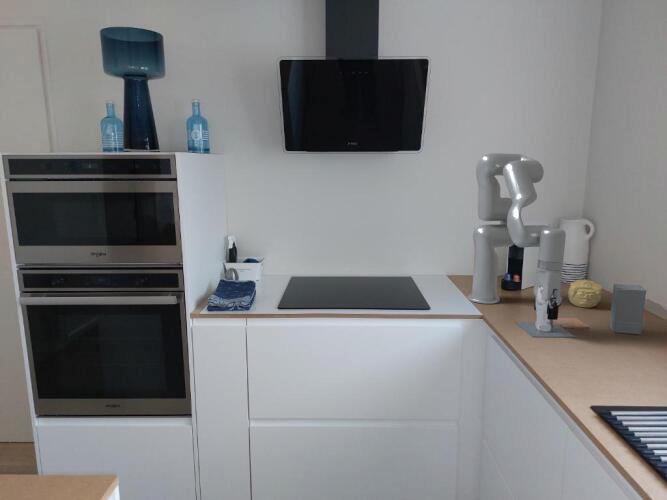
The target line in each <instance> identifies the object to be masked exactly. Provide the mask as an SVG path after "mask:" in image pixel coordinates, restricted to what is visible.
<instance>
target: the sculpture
mask: <svg viewBox="0 0 667 500" xmlns="http://www.w3.org/2000/svg"><path fill="white" fill-rule="evenodd" d="M602 289H603V286H602V285H600V284H599V283H597V282H595V281H594V280H589V279H577V280H575V281H574V282H570V283H569V288H568V292H567V293H568V294H567V295H568V299H569V301H570V303H571V304H572V305H573V306H576V307H579V308H585V309H587V308H588V309H589V308H590V309H591V308H594V307H596V306H597V305H598V304H599V302H600V301H601V297H602Z"/></svg>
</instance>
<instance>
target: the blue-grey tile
mask: <svg viewBox="0 0 667 500" xmlns="http://www.w3.org/2000/svg"><path fill="white" fill-rule="evenodd" d="M535 323H536V321H515V324H516V325H517V326H518V327H520V328H521V329H522V330H523V331H524V332H525V333H527V334H528V335H529V336H530V337H532V338H576V336H575V335H573V334H572V333H571V332H569V331H568V330H566V328H562V327H561V326H560V325H558V324H557V323H555V322H554V321H553V325H554V331H552V332H542V331H539V330H536V329H535V328H534V326H535Z"/></svg>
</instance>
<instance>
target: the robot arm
mask: <svg viewBox="0 0 667 500" xmlns="http://www.w3.org/2000/svg"><path fill="white" fill-rule="evenodd" d="M475 176H476V181H477V190H478V191H477V215H478V219H480V220H481V221H483V222H500V224H499V223H498V224H497V223H494V224H482V225H479V226H476V228H475V229H474V230H473V233H472V240H473V249H474V250H473V251H474V253H473V254H474V255H473V257H474V258H473V270H472V271H473V274H472V289H471V293H469V294H468V295H467V299H468V300H469V301H471V302H474V303H477V304H483V305H484V304H485V305H493V304H498V303H499V302H500V300H501V299H500V297H499V296H498V295H497V285H498V284H497V283H498V272H499V271H498V270H499V256H498V254H497V252H496V250H495V249H497V248H498V249H499V248H509V247H512V246H514V245H515V246H516V247H517V248H538V257H537V259H538V260H537V268H536V273H535V278H534V283H533V291H532V292H533V294H534V300H535V299H536V291H537V285H538V286H539V287H541V288H542V300H544V301H547V300H548V303H549V307H550V308H548V315H547V319H548V320H557V319H558V318H559V309H560V308H561V307H560V306H561V305H562V304H561V303H562V301H563V297H562V293H561V292H562V272H563V266H564V256H565V246H566V236H567V234H566V231H565V230H564V229H562V228H556V227H555V228H553V227H551V226H549V225H547V224H546V225H543V224H538V225H537V224H534V225H533V224H532V225H528V224H527V225H524V222H523V220H522V218H523V217H522V214H521V213H522V210H523V208H527V207H528V206H530V205H532V204H533V203H535V201H536V200H537V198H538V194H537V191H536V188H535V186H534V185H535V184H537V183H539V182H541V181H542V180H543V178H544V176H545V171H544V168H543V165H542V163H540V162H539V161H538V160H536V159H534V158H531V157H529V156H526V155H523V154H519V153H502V152H497V153H495V152H494V153H487V154H484V155H482V156H481V157H480V158H479V159H478V161H477V164H476V167H475ZM496 176H503V178H504V181H505V184H506V188H507V189H508V193H509V197H501V184H500V182H499V180H498V178H496ZM553 294H554V296H555V299H551V297H552V295H553ZM552 302H554V303H553V304H552ZM533 309H534V311H536V303H535V302H534V305H533Z"/></svg>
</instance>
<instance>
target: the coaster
mask: <svg viewBox="0 0 667 500" xmlns="http://www.w3.org/2000/svg"><path fill="white" fill-rule="evenodd" d="M553 322H555V323H556V324H558V325H559V326H560V327H562V328H563V329H590V326H589V325H588V324H586V323H585V322H582V321H581V320H579V319H578V318H577V317H558V319H557V320H553Z"/></svg>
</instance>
